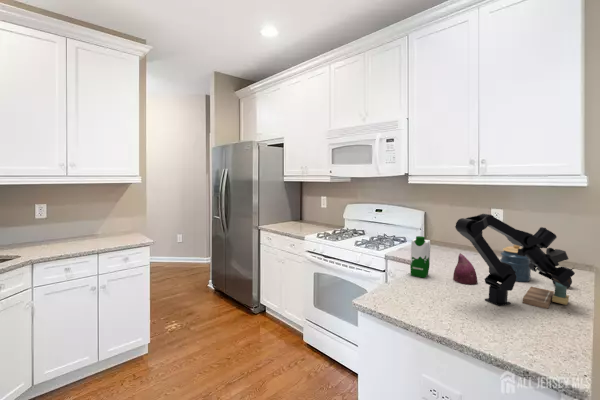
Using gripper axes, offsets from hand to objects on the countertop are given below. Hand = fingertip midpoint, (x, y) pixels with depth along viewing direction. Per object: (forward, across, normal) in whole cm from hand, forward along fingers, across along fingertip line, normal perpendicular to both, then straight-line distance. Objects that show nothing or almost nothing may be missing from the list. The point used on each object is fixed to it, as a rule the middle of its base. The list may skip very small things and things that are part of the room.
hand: (564, 284), depth 125 cm
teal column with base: (+4, 0, +6) cm, 7 cm away
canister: (+4, +32, +6) cm, 33 cm away
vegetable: (-15, +22, +26) cm, 37 cm away
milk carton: (-29, +28, +40) cm, 57 cm away
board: (0, +3, +11) cm, 11 cm away
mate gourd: (+15, +22, -4) cm, 27 cm away
